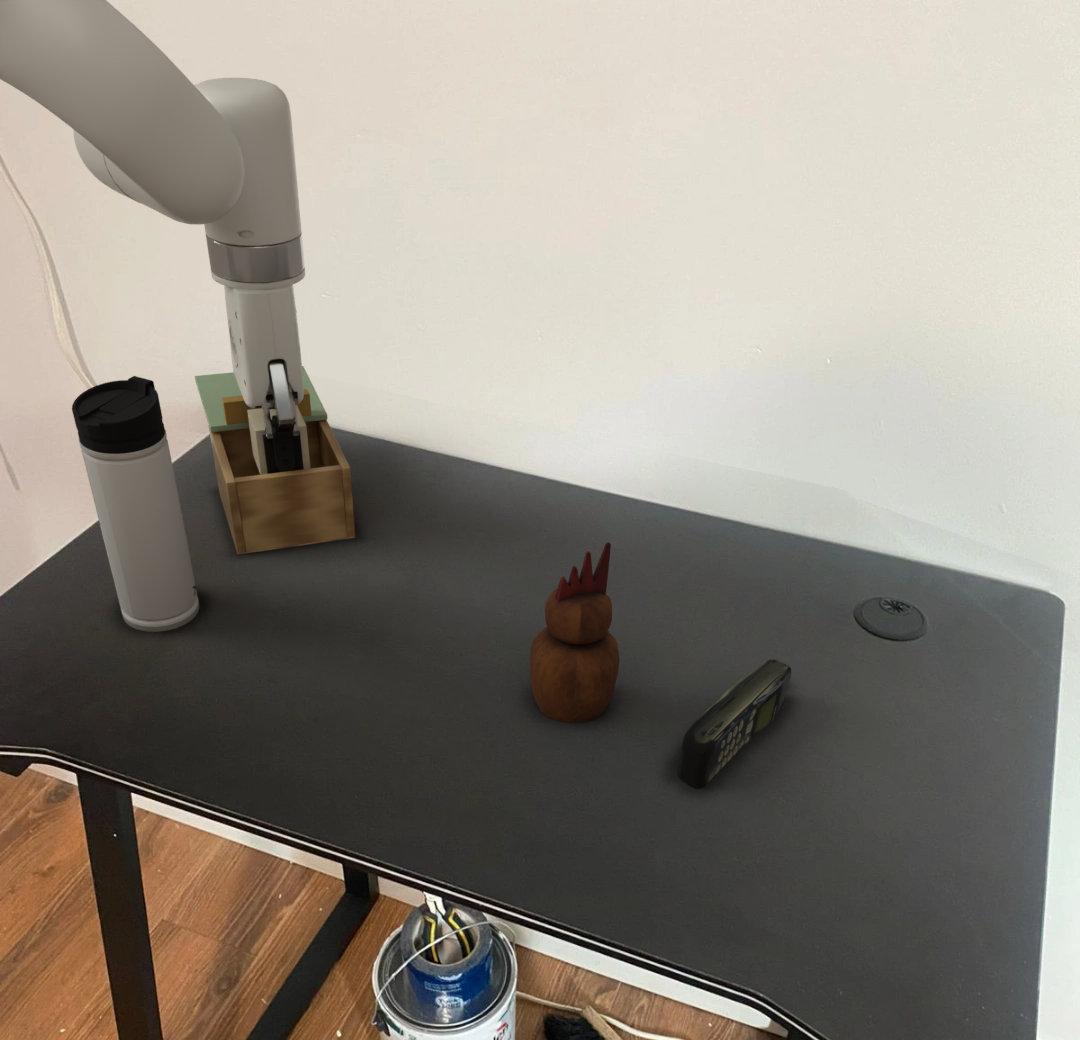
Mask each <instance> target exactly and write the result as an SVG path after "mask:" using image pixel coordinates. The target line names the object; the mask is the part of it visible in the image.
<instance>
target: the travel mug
mask: <svg viewBox="0 0 1080 1040" xmlns="http://www.w3.org/2000/svg"><path fill="white" fill-rule="evenodd" d="M71 411H72V415H73V420H74V424H75V427H76V430H77V436H78V443H79V446H80V449H81V450H80V451H81V455H82V459H83V463H84V467H85V471H86V475H87V479H88V484H89V487H90V491H91V495H92V499H93V503H94V507H95V512H96V515H97V519H98V523H99V527H100V530H101V535H102V539H103V543H104V546H105V551H106V555H107V559H108V562H109V566H110V567H109V568H110V571H111V575H112V579H113V583H114V587H115V591H116V595H117V599H118V603H119V607H120V611H121V615H122V618H123V621H124V622H125V624H127V625H128V626H129V627H130V628H133V629H135V630H138V631H142V632H150V633H154V632H155V633H156V632H159V633H160V632H166V631H171V630H174V629H175V630H176V629H178V628H180V627H183V626H184V625H187V624H188V623H190V622H191V621H192V620H193V619H194V618H195V617H196V616H197V615H198V613H199V612H200V611H199V610H200V602H199V597H198V592H197V591H198V590H197V586H196V581H195V575H194V569H193V566H192V560H191V555H190V550H189V549H190V548H189V543H188V539H187V534H186V530H185V523H184V519H183V513H182V508H181V503H180V498H179V493H178V487H177V482H176V476H175V471H174V467H173V462H172V456H171V451H170V446H169V441H168V437H167V436H168V435H167V431H166V428H165V424H164V421H163V413H162V408H161V403H160V398H159V393H158V391H157V390H156V388H155V382H154V380H153V379H147V378H143V377H140V376H136V375H133V376H131V377H129V378H128V379H123V380H122V379H121V380H113V381H112V380H111V381H107V382H103V383H100V384H97V385H95V386H92V387H90V388H88V389H86V390H85V391H83V392H82V393H80V394H79V395H78V396H77V397H76V398H75V399H74V400H73V403H72V405H71Z"/></svg>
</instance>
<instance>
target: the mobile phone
mask: <svg viewBox="0 0 1080 1040" xmlns="http://www.w3.org/2000/svg"><path fill="white" fill-rule="evenodd" d="M791 678H792V667H791V666H789V665H788V664H786V663H784V662H782V661H780V660H778V659H773V658H772V659H768V660H766V661H764V662H763V663H762V664H761V665H760V666H759V667H757V668H756V669H755V670H753V671H751V672H750V673H748V674H747V675H744V676H742V677H741V678H739V679H738V680H737V681H736V682H735V683H734V684H733V685H732V686H731V687H730V688H729V689H727V690H726V691H724V693H722V695H721V696H720V698H719V699H717V701H716V702H715V703H714V704H711V706H709V707H708V708H707V709H706V710H705V711H704V712H703V713H702V714H701V715H700V716H699V717H698V718H697V719H696V721H694V722H693V724H692V725H691V726H690V727H689V728H688V729H687V731H686V732H685V734H684V737H683V739H682V742H681V747H680V750H679V751H680V752H679V756H678V761H677V767H676V775H677V777H678V778H679V780H681V782H683V783H685V784H686V785H687V786H689V787H690V788H692V789H694V790H701V789H703V788H705V787H706V786H707V785H708V784H709V782H711V780H712V779H713V777H715V776H716V775H717V774H718V773H719V772H720V770H722V768H723V767H724V766H725V765H726V764H728V763H729V761H730V760H731V759H732V758H733V757H734V756H735V755H736V754H737V753H738V752H739V751H740V750H741V749H742V748H743V747H744V746H745V745H746V744H747V743H748V742H750V741H751V740H752V739H754V738H755V737H756V736H758V735H759V734H760V733H762V732H763V731H765V730H766V729H767V728H768V727H769V726H770V725H771V724H772V722H773V721H774V720H775V718H776V716H777V714H778V713H779V711H780V709H781V707H782V705H783V703H784V700H785V698H786V695H787V692H788V689H789V685H790V682H791Z"/></svg>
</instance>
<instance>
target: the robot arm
mask: <svg viewBox="0 0 1080 1040" xmlns="http://www.w3.org/2000/svg"><path fill="white" fill-rule="evenodd" d="M0 80H1V81H2V82H4V83H6V84H7V85H9V86H10V87H12V88H15V89H16V90H18V91H19V92H21V93H23V94H24V95H26V96H27V97H29V98H30V99H31V100H33V101H35V102H37V104H38V105H40V106H42V107H43V108H45V109H46V110H47V111H49V112H50V113H52V114H53V115H54V116H56V117H57V118H58V119H59V120H61V121H62V122H63V123H65V124H66V125H67V126H69V127H70V128H71V129H72V130H73V139H74V144H75V148H76V151H77V153H78V156H79V157H80V159H81V161H82V163H83V164H84V166H85V167H86V168H87V170H88V171H89V172H90V173H91V174H92V175H93V176H94V178H95V179H97V180H98V181H99V182H101V183H102V184H103V185H105V186H106V187H107V188H109V189H111V190H113V191H114V192H116V193H118V194H120V195H123V196H124V197H126V198H128V199H130V200H133V201H134V202H136V203H138V204H141V205H144V206H145V207H147V208H149V209H151V210H153V211H156V212H157V213H159V214H160V215H162V216H165V217H167V218H169V219H171V220H173V221H176V222H179V223H182V224H185V225H200V226H201V225H203V226H204V232H205V238H206V247H207V253H208V260H209V266H210V274H211V279H213V281H214V282H216V283H217V284H220V285H222V286H223V287H224V300H225V309H226V318H227V326H228V336H229V344H230V353H231V364H232V371H233V372H234V374H235V377H236V380H237V383H238V386H239V388H240V391H241V394H242V396H243V399H244V401H245V403H246V404H247V406H249V407H250V408H252V409H255V408H262V412H263V419H264V425H265V432H266V434H264V435H263V443H264V450H265V458H266V466H267V473H268V474H270V473H279V472H287V471H295V470H303V469H304V467H303V458H302V448H301V438H300V432H299V431H298V423H297V416H296V409H295V402H296V403H297V404H299V403H300V402H301V401H302V400H303V397H304V392H303V374H302V366H303V363H302V353H301V343H300V334H299V324H298V315H297V313H298V311H297V306H296V300H295V299H296V298H295V290H294V285H296V284H297V283H299V282H301V281H302V280H304V278H305V277H306V267H305V255H304V244H303V235H302V234H303V233H302V222H301V221H302V220H301V212H300V210H301V209H300V199H299V188H298V179H297V177H298V176H297V166H296V155H295V143H294V142H295V141H294V131H293V120H292V113H291V112H292V111H291V105H290V102H289V99H288V97H287V95H286V93H285V92H284V91H283V90H282V89H281V88H280V87H279V86H278V85H276V84H275V83H273V82H270V81H266V80H263V79H258V78H249V77H220V78H219V77H217V78H212V79H211V78H210V79H206V80H203V81H200V82H198V83H196V84H193V82H192V81H190V78H188V77H187V76H186V75H185V74H184V73H183V71H182V70H181V69H179V67H178V66H177V65H176V64H175V63H174V62H173V60H171V58H169V57H168V56H167V54H166V53H164V52H163V51H162V50H161V48H159V46H157V44H155V43H154V42H153V41H152V40H151V39H150V38H149V37H148V35H146V34H145V33H143V31H141V30H140V29H139V27H137V25H136V24H134V23H133V22H131V21H130V19H128V18H127V17H126V16H125V15H124V14H123V13H122V12H120V11H119V10H118V9H117V8H116V7H115V6H114V5H112V4H111V3H110V2H109V1H108V0H0ZM269 409H276V415H273V416H272V419H271V416H270V410H269Z"/></svg>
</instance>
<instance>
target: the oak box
mask: <svg viewBox="0 0 1080 1040" xmlns="http://www.w3.org/2000/svg"><path fill="white" fill-rule="evenodd" d="M305 424H306V428H307V438H308V449H309V459H310V469H303V470H295V471H287V472H279V473H270V474H262V475H260V473H259V470H258V467H257V464H256V461H255V459H254V456H253V450H252V442H251V435H250V428H246V429H237V430H228V431H219V432H211V430H210V427H209V426H208V430H209V437H210V443H211V444H210V445H211V450H212V456H213V463H214V468H215V474H216V480H217V486H218V492H219V496H220V500H221V504H222V506H223V510H224V513H225V516H226V521H227V524H228V527H229V530H230V533H231V537H232V540H233V545H234V547H235V551H236V554H237V555H246V554H251V553H257V552H264V551H265V552H266V551H272V550H278V549H287V548H292V547H293V548H294V547H301V546H306V545H307V546H308V545H313V544H314V545H315V544H320V543H327V542H335V541H341V540H349V539H355V538H356V528H355V514H354V501H353V488H352V473H351V466H350V464H349V463H348V460H347V459H346V457H345V454H344V451H343V450H342V448H341V446H340V444H339V442H338V440H337V437H336V436H335V433H334V432H333V429H332V428H331V426H330V424H329V422H328V419H327V420H319V421H310V422H305Z"/></svg>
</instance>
